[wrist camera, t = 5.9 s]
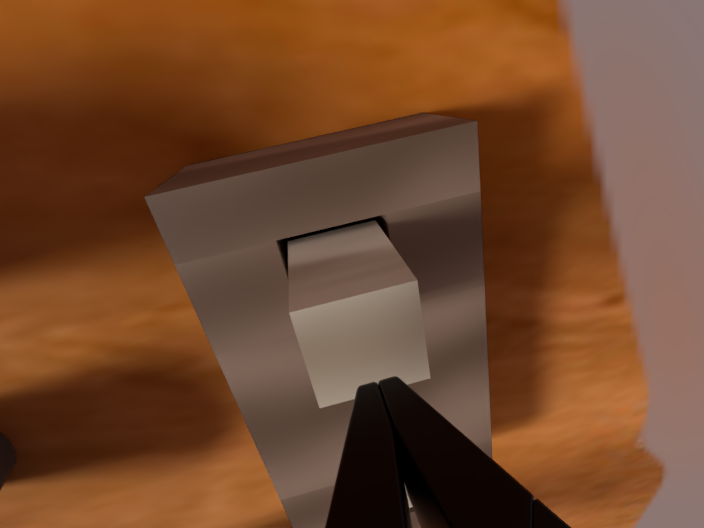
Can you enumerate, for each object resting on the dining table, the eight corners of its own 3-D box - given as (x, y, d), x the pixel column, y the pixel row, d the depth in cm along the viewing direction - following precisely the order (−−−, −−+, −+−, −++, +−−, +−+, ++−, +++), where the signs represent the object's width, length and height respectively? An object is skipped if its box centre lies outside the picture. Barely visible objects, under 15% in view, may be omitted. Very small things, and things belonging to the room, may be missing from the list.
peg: (388, 295, 14) (430, 378, 10) (309, 315, 14) (319, 408, 10) (375, 220, 13) (417, 280, 9) (287, 241, 12) (288, 312, 8)
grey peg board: (456, 436, 25) (494, 514, 20) (306, 479, 24) (311, 568, 19) (422, 112, 16) (477, 120, 11) (185, 166, 15) (144, 197, 11)
